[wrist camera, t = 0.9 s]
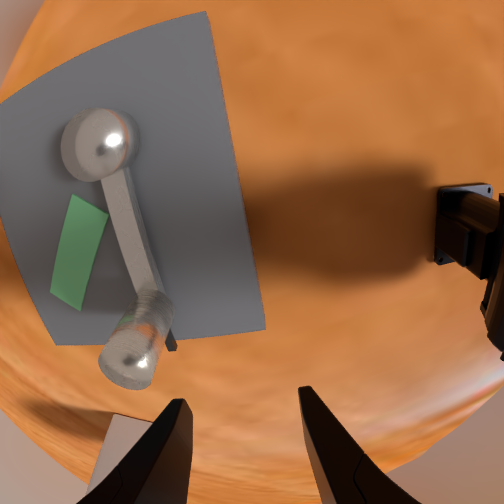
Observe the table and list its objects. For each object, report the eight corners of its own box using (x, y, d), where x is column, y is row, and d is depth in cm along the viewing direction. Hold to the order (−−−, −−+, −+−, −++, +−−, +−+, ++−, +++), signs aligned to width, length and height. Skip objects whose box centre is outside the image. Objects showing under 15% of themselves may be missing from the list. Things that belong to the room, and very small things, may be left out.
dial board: (209, 21, 15) (205, 9, 13) (264, 314, 23) (266, 331, 21) (-4, 117, 16) (-20, 118, 14) (64, 333, 24) (55, 346, 22)
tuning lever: (80, 122, 15) (5, 127, 8) (134, 101, 15) (70, 89, 8) (151, 346, 21) (125, 415, 15) (199, 342, 21) (184, 416, 15)
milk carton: (114, 412, 29) (71, 541, 11) (169, 424, 29) (143, 565, 12) (123, 439, 32) (93, 550, 14) (172, 450, 32) (153, 568, 15)
